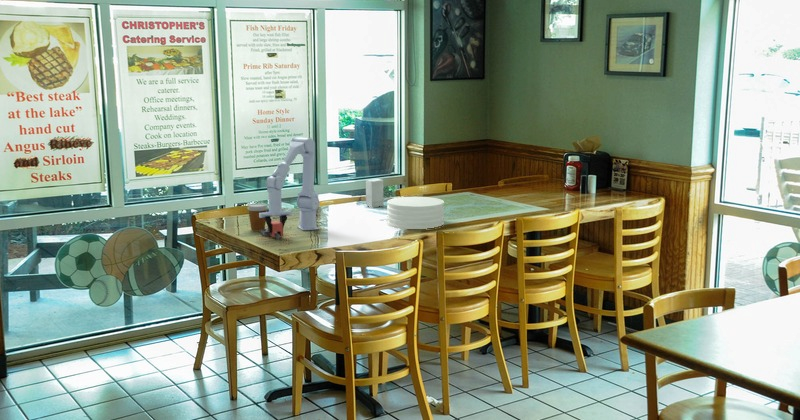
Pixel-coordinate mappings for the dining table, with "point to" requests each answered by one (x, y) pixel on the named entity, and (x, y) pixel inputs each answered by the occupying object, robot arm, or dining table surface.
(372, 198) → the skincare box
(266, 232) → the lip
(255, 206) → the disposable coffee cup
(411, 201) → the plate stack
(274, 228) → the block
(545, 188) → the dining table surface
